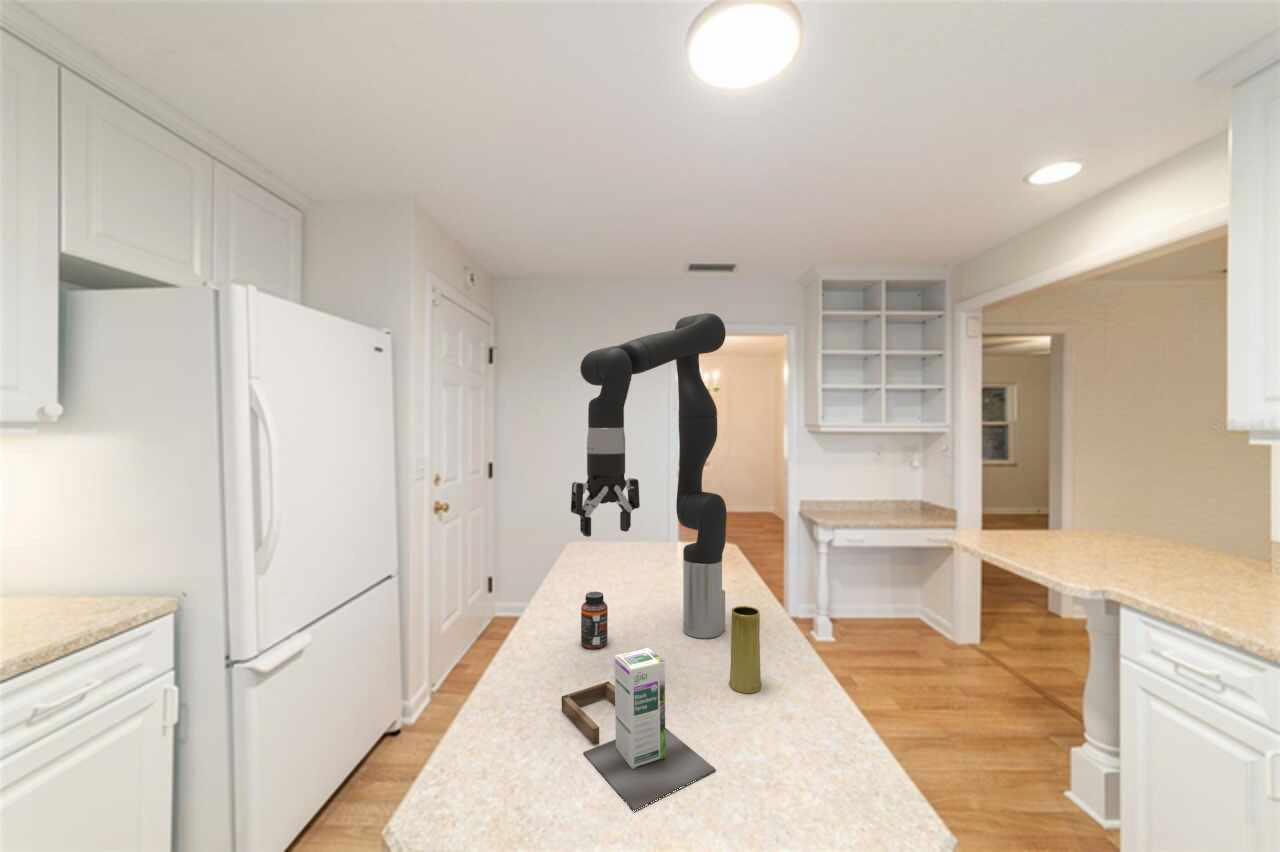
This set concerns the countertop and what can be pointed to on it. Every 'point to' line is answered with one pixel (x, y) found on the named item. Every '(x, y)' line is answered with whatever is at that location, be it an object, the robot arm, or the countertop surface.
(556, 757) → the countertop surface
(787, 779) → the countertop surface
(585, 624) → the supplement bottle
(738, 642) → the vase
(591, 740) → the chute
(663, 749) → the syrup box
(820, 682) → the countertop surface
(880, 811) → the countertop surface
